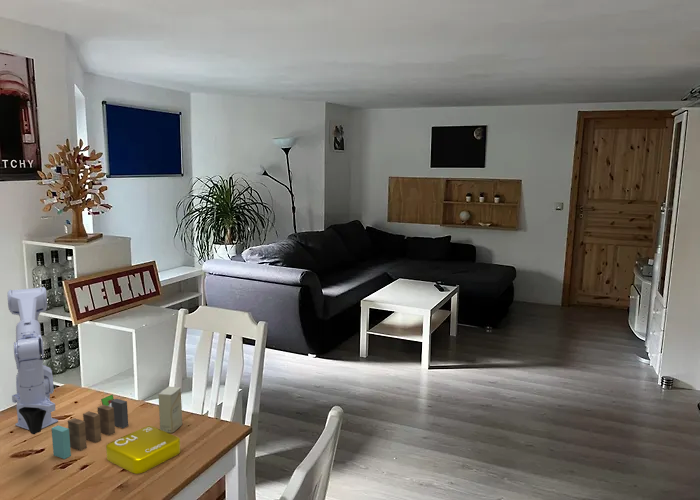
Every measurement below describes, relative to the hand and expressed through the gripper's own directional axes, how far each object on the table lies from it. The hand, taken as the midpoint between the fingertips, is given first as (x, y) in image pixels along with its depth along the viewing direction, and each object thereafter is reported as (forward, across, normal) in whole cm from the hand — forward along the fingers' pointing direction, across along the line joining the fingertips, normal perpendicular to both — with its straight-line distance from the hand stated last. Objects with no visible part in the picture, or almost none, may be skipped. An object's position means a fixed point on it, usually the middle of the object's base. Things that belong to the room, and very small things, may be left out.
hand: (35, 432), depth 148 cm
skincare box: (+10, +15, +33) cm, 38 cm away
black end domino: (+10, 0, +27) cm, 29 cm away
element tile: (+11, +20, +18) cm, 29 cm away
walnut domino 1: (+10, 0, +12) cm, 16 cm away
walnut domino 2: (+10, 0, +17) cm, 20 cm away
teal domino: (+10, 0, +7) cm, 12 cm away
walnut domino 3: (+10, 0, +22) cm, 24 cm away
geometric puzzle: (+10, -8, +30) cm, 33 cm away
